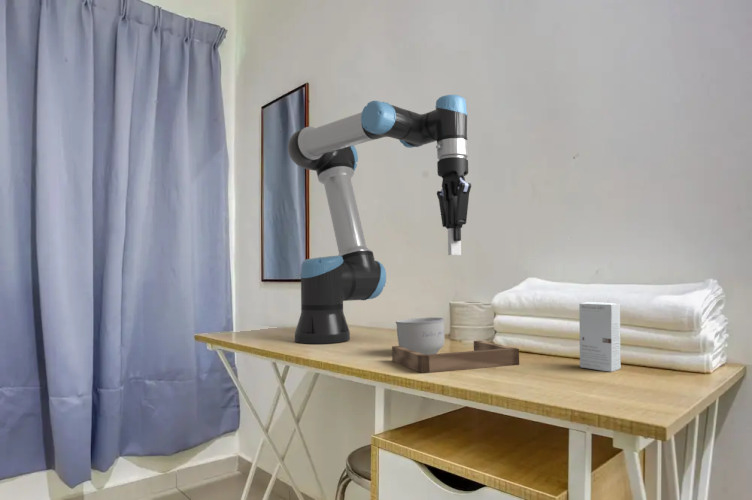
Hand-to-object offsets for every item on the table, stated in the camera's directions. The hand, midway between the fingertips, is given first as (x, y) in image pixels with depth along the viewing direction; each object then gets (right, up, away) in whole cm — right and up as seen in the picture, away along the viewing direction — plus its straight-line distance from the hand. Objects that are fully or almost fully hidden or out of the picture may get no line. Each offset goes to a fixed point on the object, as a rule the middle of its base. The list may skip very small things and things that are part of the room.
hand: (454, 255), depth 119 cm
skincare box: (+22, -21, -29) cm, 42 cm away
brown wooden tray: (-4, -21, -21) cm, 30 cm away
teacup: (-8, -22, -8) cm, 25 cm away
